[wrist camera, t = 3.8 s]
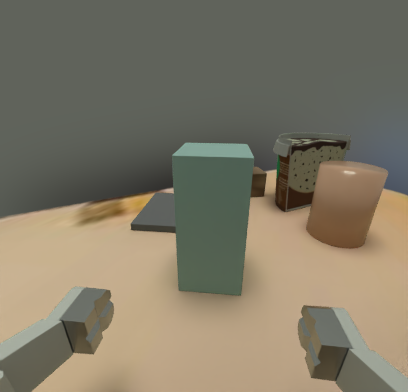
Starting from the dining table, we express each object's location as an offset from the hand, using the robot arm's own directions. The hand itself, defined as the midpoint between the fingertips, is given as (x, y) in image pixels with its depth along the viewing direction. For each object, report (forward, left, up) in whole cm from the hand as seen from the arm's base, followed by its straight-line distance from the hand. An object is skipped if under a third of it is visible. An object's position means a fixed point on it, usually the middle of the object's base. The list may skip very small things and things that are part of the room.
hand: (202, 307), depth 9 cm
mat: (+5, -20, -6) cm, 21 cm away
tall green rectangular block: (0, -9, -6) cm, 11 cm away
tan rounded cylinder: (-14, -17, -6) cm, 23 cm away
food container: (-12, -27, -6) cm, 30 cm away
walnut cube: (-5, -29, -6) cm, 30 cm away
